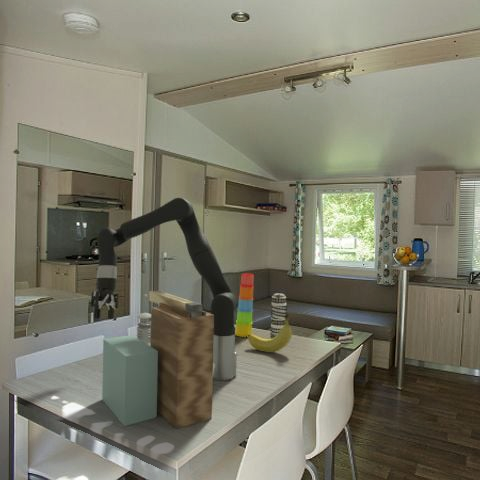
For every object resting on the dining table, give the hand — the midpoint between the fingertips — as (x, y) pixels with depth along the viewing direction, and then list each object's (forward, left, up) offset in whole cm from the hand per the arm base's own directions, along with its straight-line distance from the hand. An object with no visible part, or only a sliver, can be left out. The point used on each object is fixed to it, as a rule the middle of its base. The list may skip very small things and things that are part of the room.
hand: (104, 319), depth 155 cm
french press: (-31, -35, -23) cm, 52 cm away
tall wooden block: (-11, +44, -22) cm, 50 cm away
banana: (-76, +9, -23) cm, 80 cm away
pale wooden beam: (-11, +38, +10) cm, 40 cm away
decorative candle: (-94, -4, -22) cm, 97 cm away
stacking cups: (-84, -22, -22) cm, 90 cm away
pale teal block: (+2, +33, -22) cm, 40 cm away
